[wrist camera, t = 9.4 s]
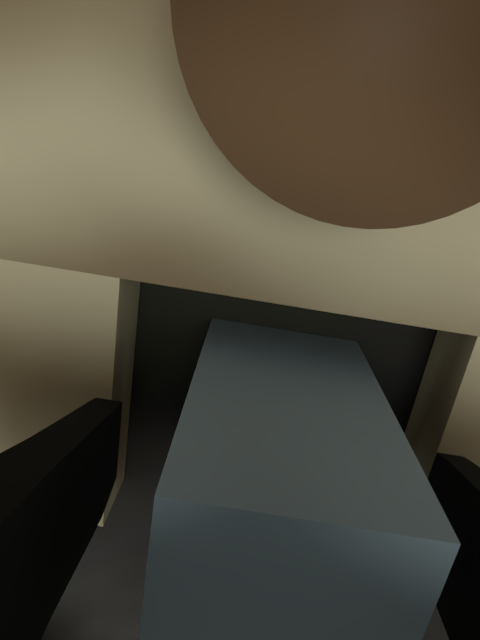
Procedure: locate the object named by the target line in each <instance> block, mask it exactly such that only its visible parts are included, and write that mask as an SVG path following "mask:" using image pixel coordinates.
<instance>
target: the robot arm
mask: <svg viewBox="0 0 480 640" xmlns="http://www.w3.org/2000/svg"><path fill="white" fill-rule="evenodd" d="M121 415H122V402H121V401H114V400H108V399H102V398H94V399H92V400H91V401H89V402H87V403H86V404H84V405H82V406H81V407H79V408H77V409H76V410H74V411H73V412H71V413H69V414H68V415H66V416H65V417H63V418H61V419H60V420H58V421H56V422H55V423H53V424H51V425H50V426H48V427H46V428H45V429H43V430H41V431H40V432H38V433H36V434H35V435H33V436H31V437H29V438H28V439H26V440H24V441H22V442H20V443H18V444H16V445H15V446H13V447H11V448H9V449H7V450H5V451H3V452H1V453H0V640H41V638H42V636H43V634H44V632H45V629H46V627H47V625H48V623H49V621H50V619H51V616H52V614H53V612H54V610H55V608H56V606H57V604H58V603H59V601H60V599H61V597H62V595H63V593H64V591H65V589H66V587H67V585H68V583H69V581H70V579H71V577H72V575H73V573H74V571H75V569H76V567H77V565H78V563H79V561H80V560H81V558H82V556H83V554H84V552H85V550H86V548H87V546H88V544H89V542H90V540H91V538H92V536H93V534H94V532H95V530H96V528H97V526H98V524H99V522H100V520H101V518H102V516H103V513H104V510H105V508H106V505H107V502H108V500H109V497H110V494H111V491H112V488H113V486H114V483H115V480H116V477H117V467H118V454H119V441H120V428H121ZM428 481H429V483H430V485H431V487H432V489H433V491H434V493H435V495H436V497H437V499H438V501H439V503H440V505H441V506H442V508H443V510H444V512H445V514H446V516H447V518H448V520H449V522H450V524H451V526H452V528H453V530H454V532H455V534H456V536H457V538H458V540H459V542H460V544H461V545H460V548H459V550H458V553H457V555H456V557H455V560H454V562H453V565H452V567H451V570H450V572H449V575H448V577H447V580H446V582H445V585H444V587H443V590H442V592H441V594H440V597H439V599H438V602H437V604H436V606H437V609H438V611H439V614H440V616H441V619H442V622H443V624H444V627H445V629H446V632H447V635H448V637H449V640H480V467H479V466H477V465H476V464H474V463H473V462H471V461H470V460H468V459H467V458H465V457H463V456H457V455H450V454H444V453H438V452H437V454H436V456H435V459H434V462H433V465H432V468H431V471H430V473H429V476H428Z"/></svg>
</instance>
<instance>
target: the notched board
mask: <svg viewBox="0 0 480 640" xmlns="http://www.w3.org/2000/svg"><path fill="white" fill-rule="evenodd" d="M140 282H145V283H152V284H158V285H164V286H170V287H176V288H183V289H189V290H195V291H201V292H207V293H213V294H220V295H226V296H232V297H238V298H244V299H250V300H257V301H263V302H269V303H275V304H281V305H288V306H294V307H300V308H306V309H312V310H318V311H325V312H331V313H337V314H343V315H349V316H355V317H362V318H368V319H374V320H380V321H386V322H392V323H399V324H405V325H411V326H417V327H423V328H430V329H436V330H437V333H436V336H435V339H434V343H433V346H432V349H431V352H430V355H429V358H428V361H427V365H426V368H425V371H424V374H423V377H422V380H421V383H420V386H419V390H418V393H417V396H416V399H415V402H414V405H413V408H412V411H411V415H410V418H409V421H408V424H407V427H406V430H405V433H404V434H405V436H406V438H407V440H408V442H409V444H410V446H411V448H412V450H413V452H414V454H415V456H416V458H417V460H418V461H419V463H420V465H421V467H422V469H423V471H424V473H425V475H426V477H427V479H428V476H429V473H430V471H431V468H432V465H433V462H434V459H435V456H436V454H437V452H438V453H444V454H450V455H457V456H463V457H465V458H467V459H468V460H470V461H471V462H473V463H474V464H476V465H477V466H479V467H480V0H0V453H1V452H3V451H5V450H7V449H9V448H11V447H13V446H15V445H16V444H18V443H20V442H22V441H24V440H26V439H28V438H29V437H31V436H33V435H35V434H36V433H38V432H40V431H41V430H43V429H45V428H46V427H48V426H50V425H51V424H53V423H55V422H56V421H58V420H60V419H61V418H63V417H65V416H66V415H68V414H69V413H71V412H73V411H74V410H76V409H77V408H79V407H81V406H82V405H84V404H86V403H87V402H89V401H91V400H92V399H94V398H102V399H108V400H114V401H121V402H122V415H121V428H120V441H119V454H118V467H117V477H116V480H115V483H114V486H113V488H112V491H111V494H110V497H109V500H108V502H107V505H106V508H105V510H104V513H103V516H102V518H101V520H100V522H99V524H98V526H102V527H103V526H104V523H105V521H106V519H107V516H108V514H109V512H110V509H111V507H112V505H113V503H114V500H115V498H116V496H117V493H118V491H119V489H120V487H121V484H122V482H123V480H124V474H125V462H126V450H127V438H128V426H129V414H130V402H131V390H132V378H133V366H134V354H135V342H136V330H137V318H138V306H139V294H140Z"/></svg>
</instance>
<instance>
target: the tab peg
mask: <svg viewBox="0 0 480 640" xmlns="http://www.w3.org/2000/svg"><path fill="white" fill-rule="evenodd" d="M460 545H461V544H460V542H459V540H458V538H457V536H456V534H455V532H454V530H453V528H452V526H451V524H450V522H449V520H448V518H447V516H446V514H445V512H444V510H443V508H442V506H441V505H440V503H439V501H438V499H437V497H436V495H435V493H434V491H433V489H432V487H431V485H430V483H429V481H428V479H427V477H426V475H425V473H424V471H423V469H422V467H421V465H420V463H419V461H418V460H417V458H416V456H415V454H414V452H413V450H412V448H411V446H410V444H409V442H408V440H407V438H406V436H405V434H404V432H403V430H402V428H401V426H400V424H399V422H398V420H397V418H396V416H395V415H394V413H393V411H392V409H391V407H390V405H389V403H388V401H387V399H386V397H385V395H384V393H383V391H382V389H381V387H380V385H379V383H378V381H377V379H376V377H375V375H374V373H373V372H372V370H371V368H370V366H369V364H368V362H367V360H366V358H365V356H364V354H363V352H362V350H361V348H360V346H359V344H358V342H357V341H351V340H345V339H339V338H333V337H326V336H320V335H314V334H308V333H302V332H295V331H289V330H283V329H277V328H271V327H264V326H258V325H252V324H246V323H240V322H233V321H227V320H221V319H215V318H212V319H211V322H210V326H209V329H208V332H207V335H206V338H205V341H204V344H203V347H202V350H201V353H200V356H199V360H198V363H197V366H196V369H195V372H194V375H193V378H192V381H191V384H190V387H189V391H188V394H187V397H186V400H185V403H184V406H183V409H182V412H181V415H180V418H179V421H178V425H177V428H176V431H175V434H174V437H173V440H172V443H171V446H170V449H169V452H168V455H167V459H166V462H165V465H164V468H163V471H162V474H161V477H160V480H159V483H158V486H157V490H156V493H155V496H154V505H153V514H152V523H151V532H150V541H149V550H148V559H147V568H146V576H145V585H144V594H143V603H142V612H141V621H140V630H139V639H138V640H422V639H423V636H424V634H425V631H426V629H427V627H428V624H429V622H430V619H431V617H432V614H433V612H434V609H435V607H436V604H437V602H438V599H439V597H440V594H441V592H442V590H443V587H444V585H445V582H446V580H447V577H448V575H449V572H450V570H451V567H452V565H453V562H454V560H455V557H456V555H457V553H458V550H459V548H460Z"/></svg>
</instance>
